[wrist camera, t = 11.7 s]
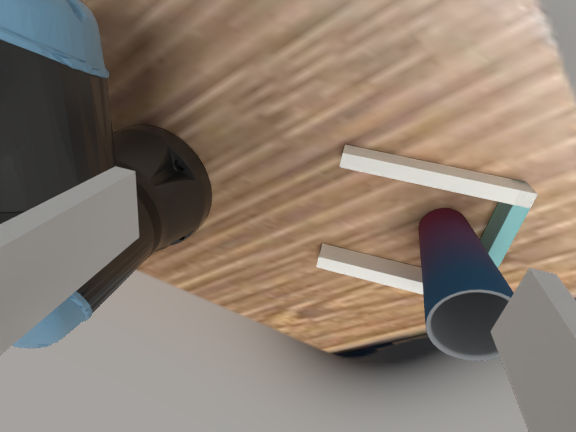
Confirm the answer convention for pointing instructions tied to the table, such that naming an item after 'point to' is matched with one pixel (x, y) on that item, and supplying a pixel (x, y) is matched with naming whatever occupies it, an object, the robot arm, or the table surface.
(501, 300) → the cup
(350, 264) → the bay
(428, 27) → the table surface
